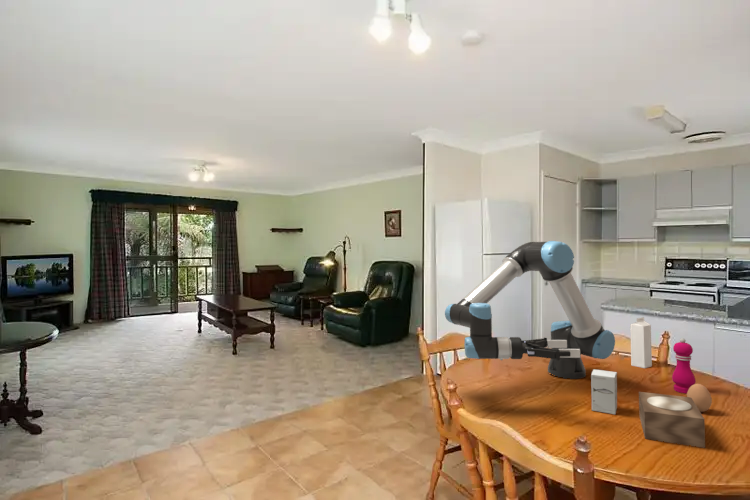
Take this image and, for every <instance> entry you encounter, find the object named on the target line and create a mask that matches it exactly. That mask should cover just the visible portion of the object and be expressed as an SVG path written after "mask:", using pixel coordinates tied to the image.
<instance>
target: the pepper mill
mask: <svg viewBox="0 0 750 500" xmlns="http://www.w3.org/2000/svg"><path fill="white" fill-rule="evenodd" d="M686 341H687V340H686V339H685V338H680V339H679V341H678V342H676V343H674V344H673V348H672V349H673V352H674V353H675V354H674V358H675V360H676V366H675V368H674V370H673V372H672V376H671V380H672V382H673V383H674V384H673V390H674V392H677V393H681V394H686V395H687V392H688V390H689V388H690V387H691V386H692V385H694V384H697V381H696V377H695V375H694V373H693V371H692V368H691V361H692V356H691V355H692V354H693V353H694V352H693V351H694V348H693V347H692V345H691V344H689V342H686Z"/></svg>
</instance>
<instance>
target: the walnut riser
mask: <svg viewBox="0 0 750 500" xmlns="http://www.w3.org/2000/svg"><path fill="white" fill-rule="evenodd" d="M638 409H639V410H638V412H639V414H638V415H639V420H640V424H641V427H642V432H643V436H644V438H645V439H644V440H650V439H651V441H656V440H658V442H663V441H664V442H663V443H668V444H669V443H670V444H676V443H677V445H682V444H683V446H689V445H691V447H695V446H696V448H704V449H706V432H705V431H706V428H705V426H706V425H705V424H706V423H705V418H704V415H702V412H700V411H699V409H698V408H697V406H696V404H695V403H694V401H693V400H692V398H691V397H687V396H682V395H681V396H680V395H672V394H664V393H655V392H644V391H638Z"/></svg>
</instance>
